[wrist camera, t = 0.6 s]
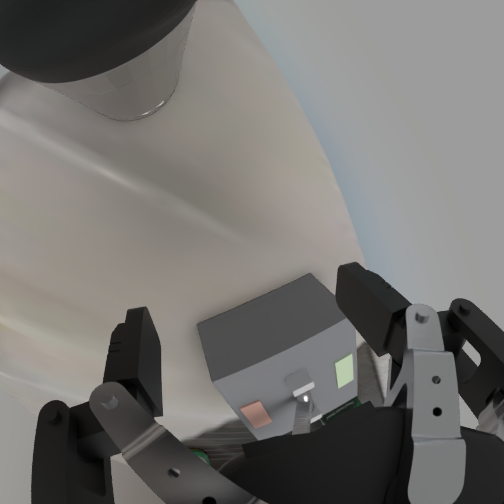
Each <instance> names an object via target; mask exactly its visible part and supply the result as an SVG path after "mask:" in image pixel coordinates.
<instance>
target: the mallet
mask: <svg viewBox="0 0 504 504" xmlns="http://www.w3.org/2000/svg"><path fill="white" fill-rule="evenodd" d="M296 398H297V404H296V411H295V419H294V426H293V433H292V435H294V434H304V433H309V432H310V423H311V413H312V412H313V411H314V409H315V405H314V402H313V398H312V394H311V391H310V390H308V391H306V392H304V393H302V394H300V395H298V396H296Z"/></svg>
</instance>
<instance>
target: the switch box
mask: <svg viewBox="0 0 504 504" xmlns="http://www.w3.org/2000/svg"><path fill="white" fill-rule="evenodd" d="M197 326H198V330H199V334H200V338H201V342H202V346H203V350H204V354H205V358H206V362H207V365H208V369H209V373H210V376H211V380H212V383H213V384H214V385H215V387H216V388H217V390H218V391H219V392H220V394H221V395H222V396H223V397H224V399H225V400H226V401H227V403H228V404H229V405H230V407H231V408H232V409H233V410H234V412H235V413H236V414H237V415H238V417H239V418H240V419H241V420H242V422H243V423H244V424H245V425H246V426H247V428H248V429H249V430H250V431H251V432H252V434H253V435H254V436H255V437H256V438H257V439H258V440H263V439H267V438H270V437H274V436H281V435H283V434H286V433H288V432H290V431H292V430H293V426H294V419H295V411H296V404H297V398H296V396H298V395H300V394H302V393H304V392H306V391H308V390H310V391H311V394H312V398H313V402H314V405H315V409H314V411H313V412H312V413H311V423H312V422H314V421H316V420H318V419H320V418H322V415H324V414H326V413H328V412H330V411H332V410H333V409H335V408H337V407H339V406H340V405H342V404H344V403H346V402H347V401H349V400H351V399H352V398H354V397H356V396H357V352H356V332H355V327H354V326H353V325H352V323H351V322H350V321H349V320H348V319H347V317H346V316H345V315H344V314H343V312H342V311H341V310H340V309H339V307H338V305H337V303H336V297H335V295H334V294H333V293H331V292H330V291H329V290H328V289H327V288H326V287H325V286H324V285H323V284H322V283H320V282H319V281H318V280H317V279H316V278H315V277H314V276H313V275H312V274H311V273H310V274H308V275H305V276H303V277H301V278H299V279H297V280H295V281H293V282H291V283H289V284H287V285H284V286H282V287H280V288H278V289H276V290H274V291H271V292H269V293H267V294H265V295H263V296H260V297H258V298H256V299H254V300H252V301H249V302H247V303H245V304H243V305H240V306H238V307H236V308H234V309H231V310H229V311H227V312H224V313H222V314H220V315H217V316H215V317H213V318H210V319H208V320H206V321H203V322H201V323H199V324H197Z"/></svg>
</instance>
